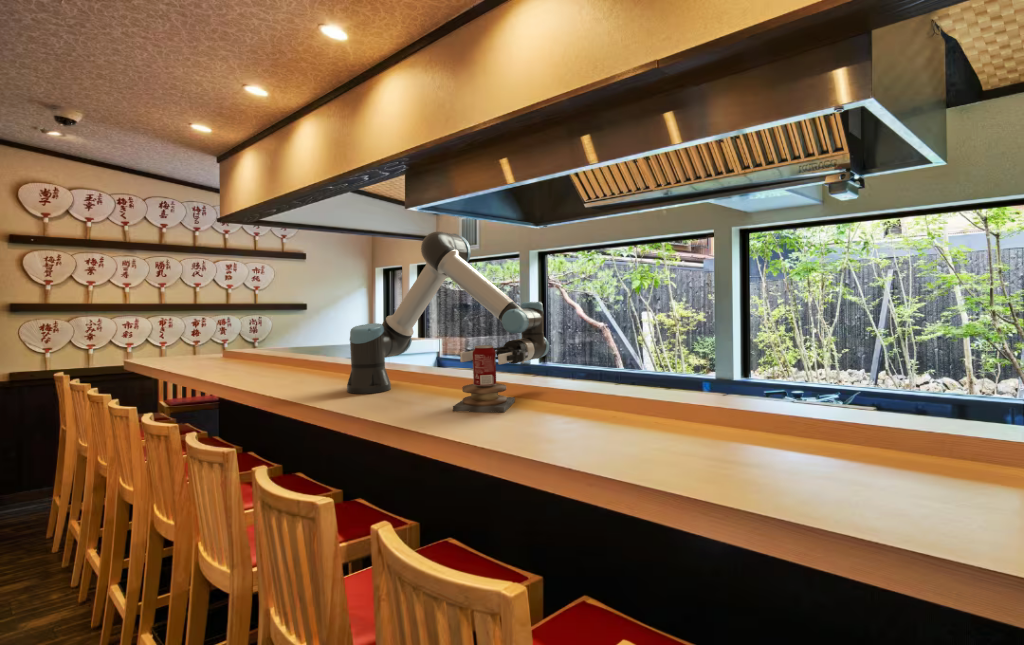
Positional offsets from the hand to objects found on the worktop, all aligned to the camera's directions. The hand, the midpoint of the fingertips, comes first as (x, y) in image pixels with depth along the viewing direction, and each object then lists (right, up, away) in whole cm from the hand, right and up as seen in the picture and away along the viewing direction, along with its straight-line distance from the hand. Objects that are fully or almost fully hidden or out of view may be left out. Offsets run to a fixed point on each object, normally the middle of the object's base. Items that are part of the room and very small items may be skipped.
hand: (479, 358), depth 164 cm
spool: (+1, -14, +3) cm, 15 cm away
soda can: (+1, -9, +2) cm, 9 cm away
